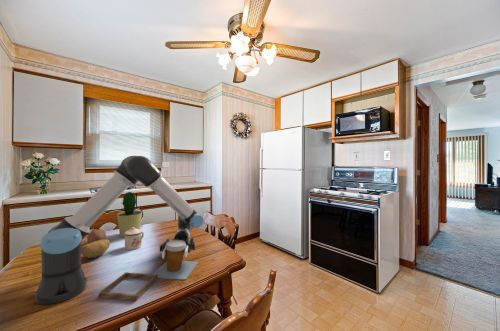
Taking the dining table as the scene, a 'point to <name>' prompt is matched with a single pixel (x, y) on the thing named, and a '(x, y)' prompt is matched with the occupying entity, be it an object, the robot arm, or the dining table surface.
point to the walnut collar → (131, 297)
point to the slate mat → (180, 274)
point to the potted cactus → (129, 214)
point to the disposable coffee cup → (175, 254)
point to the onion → (96, 235)
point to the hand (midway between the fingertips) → (174, 254)
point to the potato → (95, 248)
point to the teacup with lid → (133, 238)
